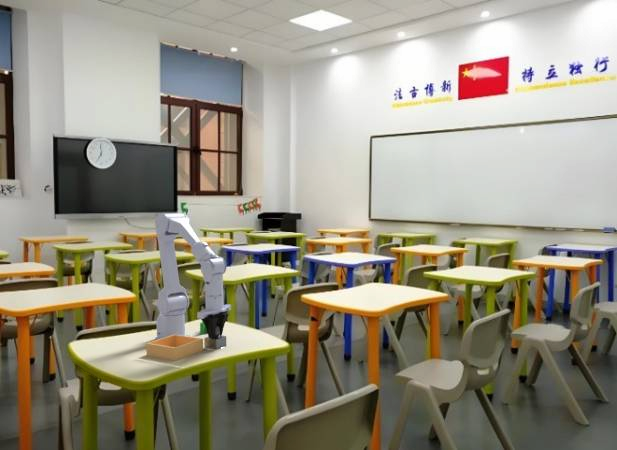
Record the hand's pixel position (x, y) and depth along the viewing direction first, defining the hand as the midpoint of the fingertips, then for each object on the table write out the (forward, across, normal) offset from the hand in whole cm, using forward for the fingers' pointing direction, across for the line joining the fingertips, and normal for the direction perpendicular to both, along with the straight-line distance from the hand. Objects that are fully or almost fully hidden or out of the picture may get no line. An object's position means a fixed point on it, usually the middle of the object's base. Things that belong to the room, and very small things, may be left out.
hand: (215, 336), depth 164 cm
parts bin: (+4, -10, +8) cm, 13 cm away
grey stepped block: (+3, 0, 0) cm, 3 cm away
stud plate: (+4, 0, 0) cm, 4 cm away
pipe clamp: (+4, +16, +16) cm, 24 cm away
